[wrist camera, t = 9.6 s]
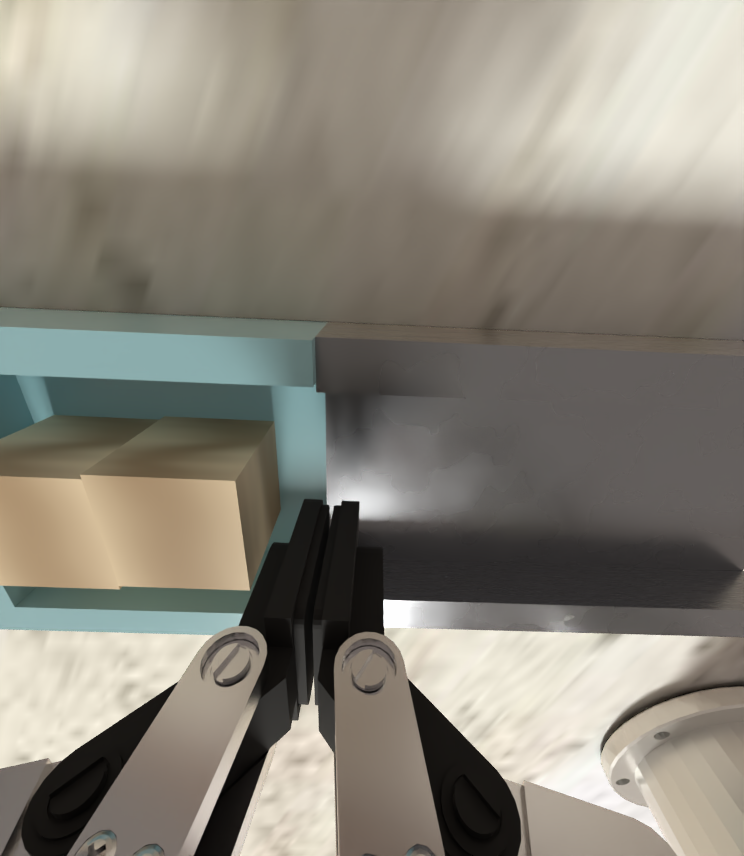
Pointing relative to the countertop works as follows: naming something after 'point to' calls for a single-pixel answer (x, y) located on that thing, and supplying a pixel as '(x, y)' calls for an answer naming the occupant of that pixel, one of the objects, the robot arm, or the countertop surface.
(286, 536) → the tray
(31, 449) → the chip
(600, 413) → the rail
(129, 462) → the chip
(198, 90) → the countertop surface
